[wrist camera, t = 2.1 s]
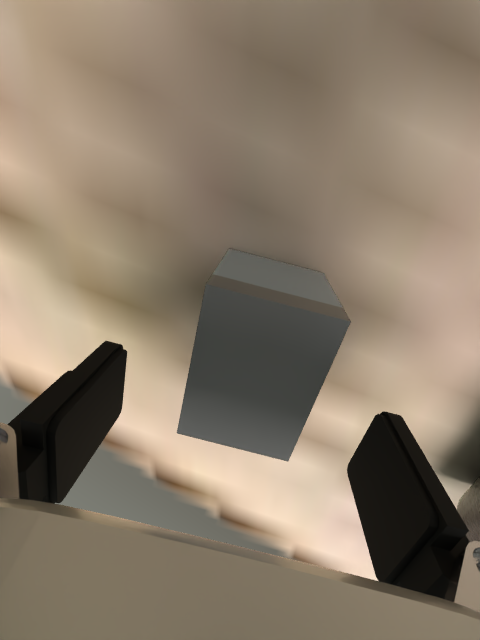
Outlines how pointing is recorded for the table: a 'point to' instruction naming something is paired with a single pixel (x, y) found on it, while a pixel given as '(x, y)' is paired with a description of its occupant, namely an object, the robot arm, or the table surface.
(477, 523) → the motor
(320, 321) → the grey chamfered block
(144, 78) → the table surface
